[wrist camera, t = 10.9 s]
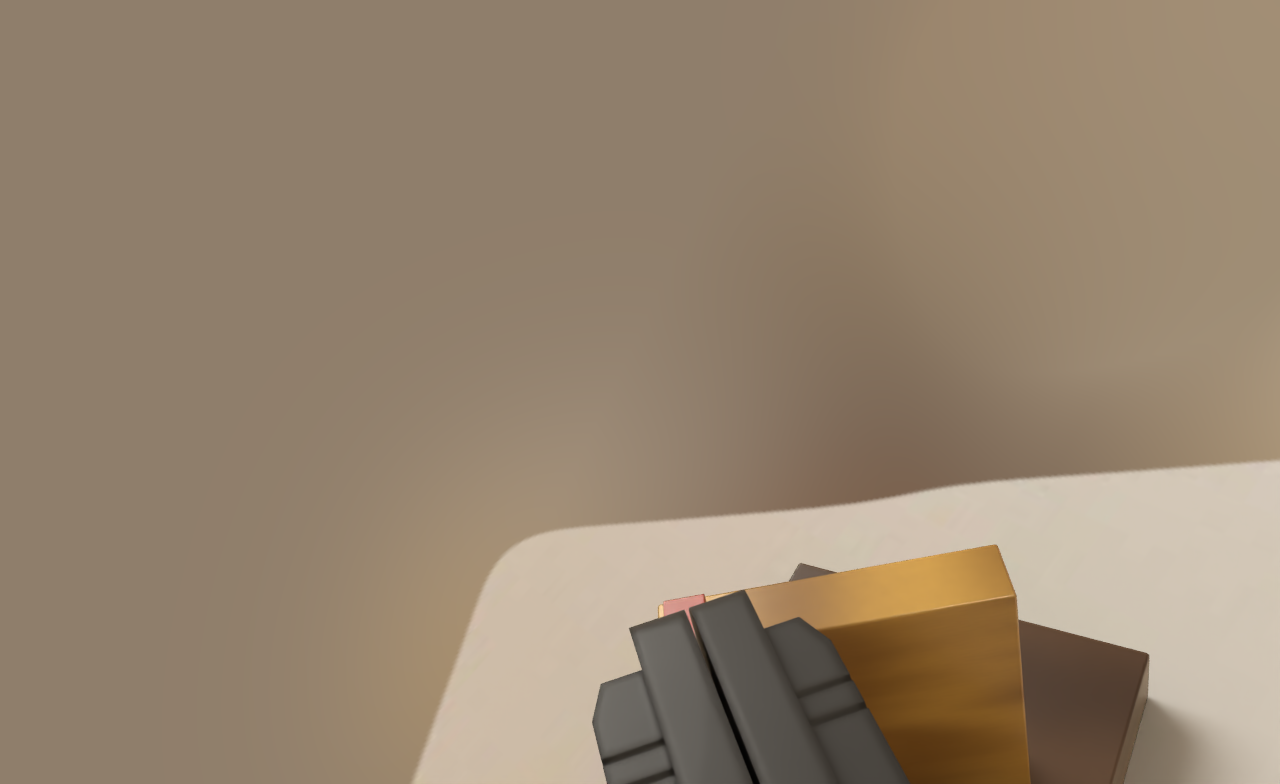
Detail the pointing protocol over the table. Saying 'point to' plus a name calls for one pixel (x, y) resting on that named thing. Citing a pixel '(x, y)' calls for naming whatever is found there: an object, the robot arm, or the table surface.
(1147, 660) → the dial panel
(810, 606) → the wooden block
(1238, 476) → the table surface
